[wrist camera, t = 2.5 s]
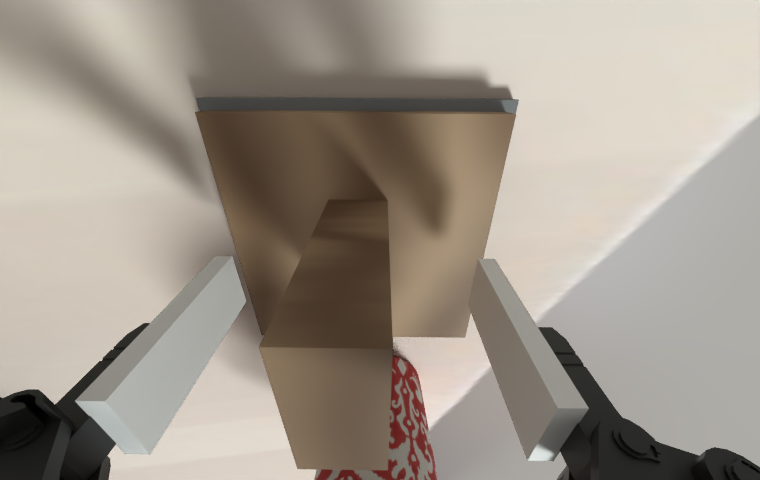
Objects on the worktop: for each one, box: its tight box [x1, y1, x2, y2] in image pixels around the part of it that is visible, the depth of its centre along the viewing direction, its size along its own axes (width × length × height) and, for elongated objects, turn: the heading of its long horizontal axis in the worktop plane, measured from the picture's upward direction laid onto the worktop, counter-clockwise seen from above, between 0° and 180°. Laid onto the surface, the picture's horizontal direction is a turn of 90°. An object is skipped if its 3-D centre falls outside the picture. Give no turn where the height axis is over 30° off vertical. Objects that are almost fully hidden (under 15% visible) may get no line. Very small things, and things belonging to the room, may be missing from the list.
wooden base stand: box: [195, 110, 516, 470], centre depth 12 cm, size 14×14×10 cm
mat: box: [196, 97, 519, 114], centre depth 17 cm, size 15×15×1 cm
